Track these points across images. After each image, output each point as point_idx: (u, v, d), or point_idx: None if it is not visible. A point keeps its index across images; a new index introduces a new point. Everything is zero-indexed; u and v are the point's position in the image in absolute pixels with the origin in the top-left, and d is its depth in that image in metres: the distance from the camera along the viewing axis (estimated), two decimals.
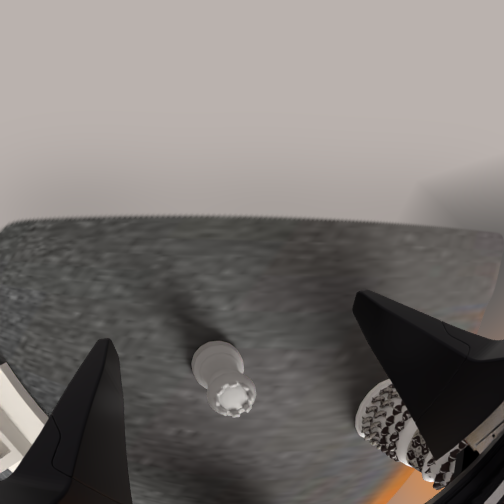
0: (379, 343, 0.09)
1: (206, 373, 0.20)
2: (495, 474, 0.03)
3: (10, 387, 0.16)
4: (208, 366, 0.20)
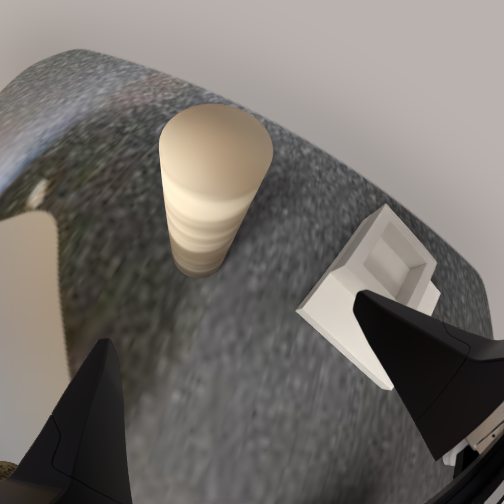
0: (379, 343, 0.09)
1: None
2: (495, 474, 0.03)
3: (431, 306, 0.25)
4: None
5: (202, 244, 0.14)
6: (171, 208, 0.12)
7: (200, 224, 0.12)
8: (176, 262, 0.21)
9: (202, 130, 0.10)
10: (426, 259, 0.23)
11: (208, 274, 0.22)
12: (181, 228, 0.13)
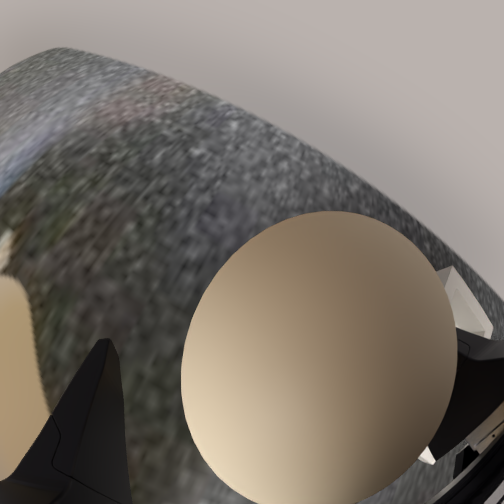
0: None
1: None
2: (495, 474, 0.03)
3: None
4: None
5: None
6: None
7: None
8: None
9: (317, 332, 0.03)
10: (485, 326, 0.16)
11: None
12: None
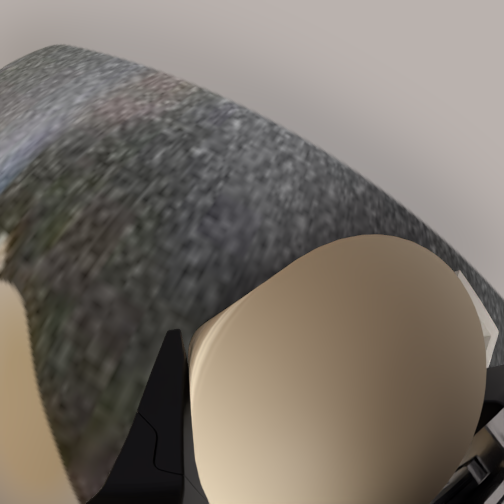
0: None
1: None
2: None
3: None
4: None
5: None
6: None
7: None
8: None
9: (353, 383, 0.02)
10: (490, 331, 0.16)
11: None
12: None
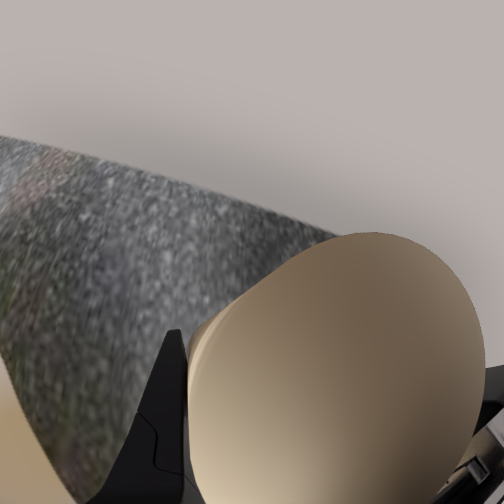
0: None
1: None
2: None
3: None
4: None
5: None
6: None
7: None
8: None
9: (349, 381, 0.02)
10: None
11: None
12: None
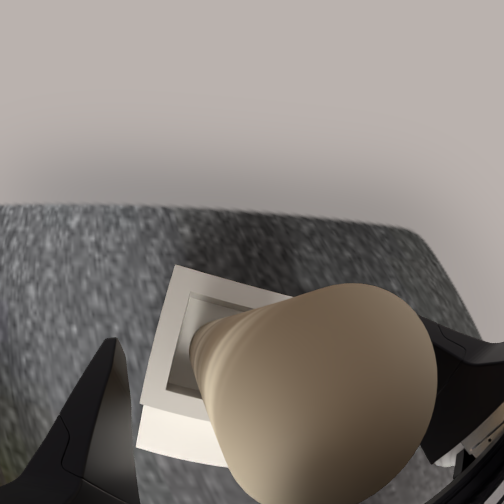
0: None
1: None
2: (495, 474, 0.03)
3: None
4: None
5: None
6: None
7: None
8: None
9: (323, 386, 0.04)
10: None
11: None
12: None
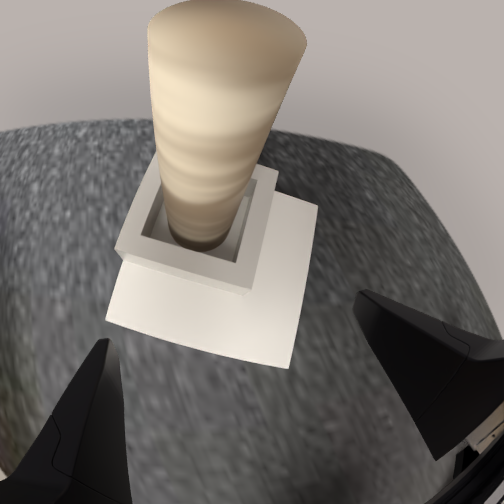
0: (379, 343, 0.09)
1: None
2: (495, 474, 0.03)
3: (308, 230, 0.20)
4: None
5: (204, 186, 0.10)
6: (160, 125, 0.08)
7: (201, 142, 0.08)
8: (172, 230, 0.16)
9: (209, 14, 0.06)
10: (255, 175, 0.18)
11: (211, 246, 0.17)
12: (174, 160, 0.09)
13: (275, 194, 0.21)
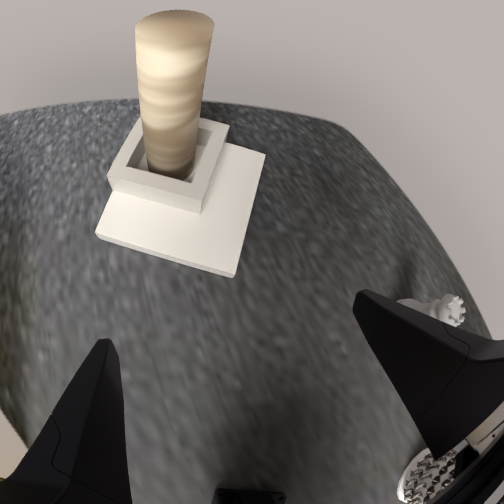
0: (379, 343, 0.09)
1: (419, 304, 0.23)
2: (495, 474, 0.03)
3: (255, 171, 0.25)
4: (420, 303, 0.23)
5: (164, 113, 0.15)
6: (141, 76, 0.13)
7: (160, 82, 0.13)
8: (149, 165, 0.21)
9: (166, 19, 0.11)
10: (211, 128, 0.23)
11: (177, 177, 0.22)
12: (147, 97, 0.14)
13: (231, 146, 0.26)
